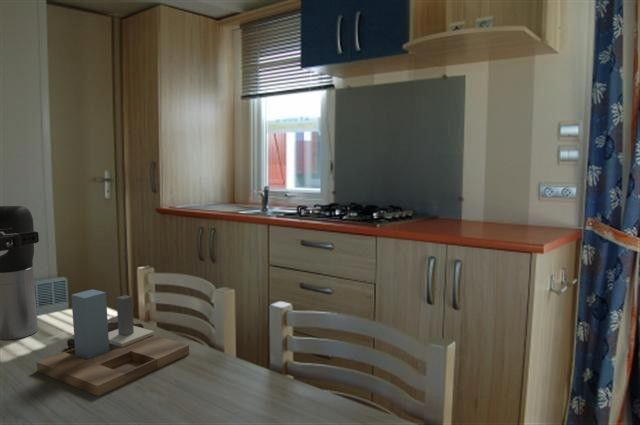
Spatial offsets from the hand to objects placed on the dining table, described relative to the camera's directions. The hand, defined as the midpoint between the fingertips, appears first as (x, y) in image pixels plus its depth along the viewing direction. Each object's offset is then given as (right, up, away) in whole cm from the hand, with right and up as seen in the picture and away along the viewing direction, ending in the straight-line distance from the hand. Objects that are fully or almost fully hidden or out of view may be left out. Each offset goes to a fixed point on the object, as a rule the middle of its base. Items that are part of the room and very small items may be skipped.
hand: (26, 234), depth 97 cm
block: (+8, -28, +11) cm, 32 cm away
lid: (+13, -25, +19) cm, 34 cm away
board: (+14, -29, +10) cm, 34 cm away
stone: (+4, -28, +25) cm, 37 cm away
